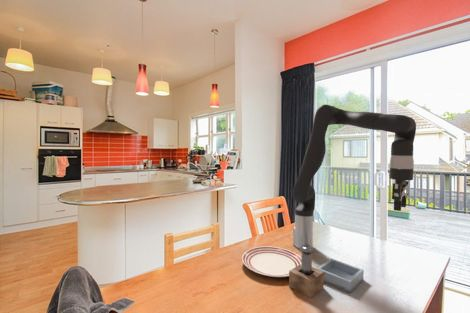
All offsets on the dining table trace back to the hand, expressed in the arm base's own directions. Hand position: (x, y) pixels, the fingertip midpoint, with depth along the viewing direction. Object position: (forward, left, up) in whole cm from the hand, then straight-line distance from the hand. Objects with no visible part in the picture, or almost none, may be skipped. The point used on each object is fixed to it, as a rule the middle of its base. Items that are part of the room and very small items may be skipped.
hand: (400, 208), depth 91 cm
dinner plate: (-41, -27, -29) cm, 57 cm away
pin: (-22, -31, -29) cm, 48 cm away
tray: (-16, -16, -29) cm, 37 cm away
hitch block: (-22, -31, -29) cm, 48 cm away
